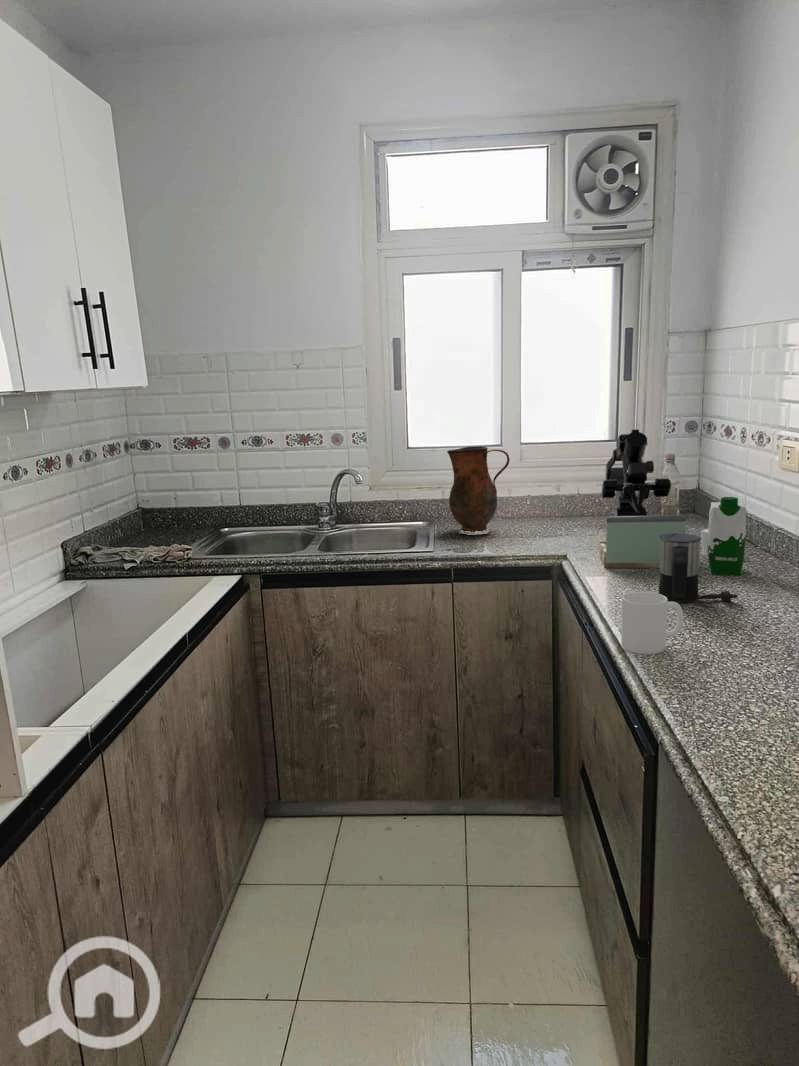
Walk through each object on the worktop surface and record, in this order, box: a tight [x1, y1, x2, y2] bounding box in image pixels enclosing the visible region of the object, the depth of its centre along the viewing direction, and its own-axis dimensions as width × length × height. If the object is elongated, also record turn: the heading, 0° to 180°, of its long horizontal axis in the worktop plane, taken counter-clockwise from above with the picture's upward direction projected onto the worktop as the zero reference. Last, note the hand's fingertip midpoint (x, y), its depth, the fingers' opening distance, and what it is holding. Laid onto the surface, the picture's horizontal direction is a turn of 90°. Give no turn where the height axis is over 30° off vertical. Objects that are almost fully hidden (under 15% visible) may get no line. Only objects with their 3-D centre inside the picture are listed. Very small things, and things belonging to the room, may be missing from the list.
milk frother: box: [657, 533, 738, 604], centre depth 164 cm, size 14×16×15 cm
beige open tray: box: [599, 540, 660, 569], centre depth 200 cm, size 12×21×5 cm, turn 81°
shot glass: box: [700, 528, 708, 557], centre depth 204 cm, size 7×7×7 cm
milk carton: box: [707, 496, 747, 576], centre depth 185 cm, size 9×9×20 cm
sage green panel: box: [605, 514, 687, 563], centre depth 192 cm, size 2×20×13 cm, turn 81°
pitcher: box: [446, 445, 511, 532], centre depth 246 cm, size 17×21×30 cm
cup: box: [620, 591, 684, 656], centre depth 138 cm, size 8×12×10 cm
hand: (638, 512), depth 202 cm, fingers closed
